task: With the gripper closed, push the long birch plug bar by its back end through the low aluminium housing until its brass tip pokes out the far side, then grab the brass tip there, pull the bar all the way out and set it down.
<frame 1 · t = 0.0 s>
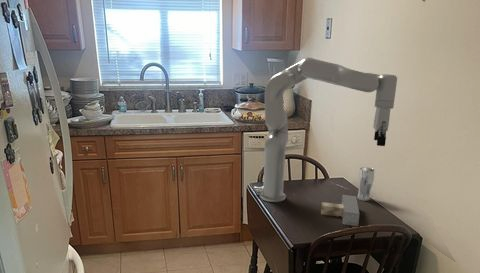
hand: (379, 142, 162), 31 cm above the table, tool pointing down, fingers open, 9 cm apart
plug bar: (336, 214, 163), on the table
beer glass: (363, 199, 181), on the table
housing: (349, 215, 162), on the table
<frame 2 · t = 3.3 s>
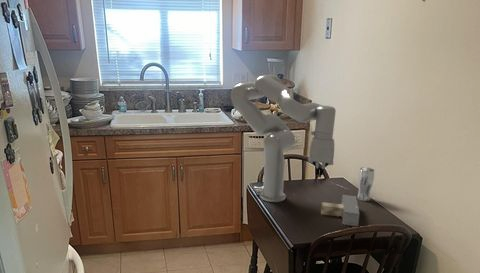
hand: (319, 176, 161), 16 cm above the table, tool pointing down, fingers closed
nothing on the table moved.
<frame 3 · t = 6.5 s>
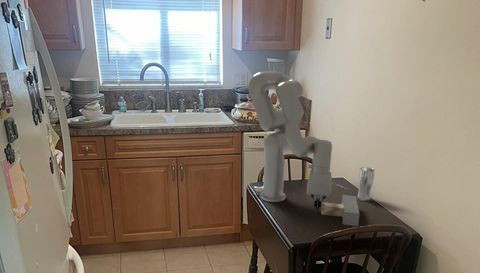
hand: (317, 208, 164), 2 cm above the table, tool pointing down, fingers closed
plug bar: (336, 214, 163), on the table, touching gripper
everything else where it was.
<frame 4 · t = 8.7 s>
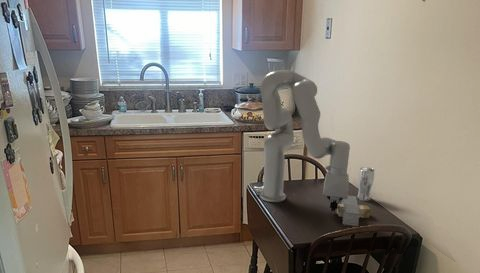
hand: (333, 209, 163), 2 cm above the table, tool pointing down, fingers closed
plug bar: (352, 215, 163), on the table
everything else where it was.
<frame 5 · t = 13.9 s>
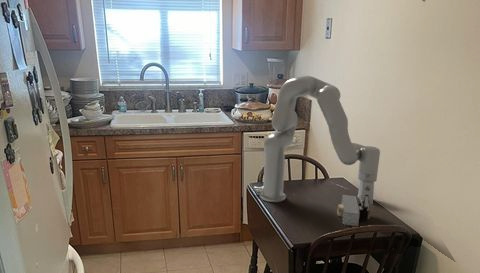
hand: (362, 215, 160), 1 cm above the table, tool pointing down, fingers open, 5 cm apart
plug bar: (352, 215, 162), on the table, touching gripper
everything else where it was.
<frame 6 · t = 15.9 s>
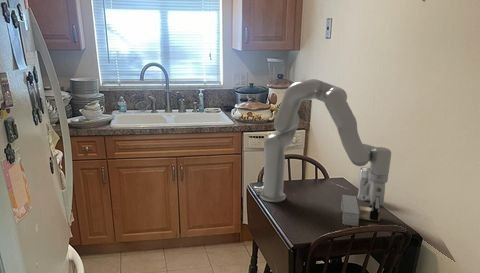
hand: (373, 216, 160), 1 cm above the table, tool pointing down, fingers closed on plug bar, 4 cm apart
plug bar: (362, 217, 161), on the table, touching gripper
everything else where it was.
when the fingers open (1 cm above the table, at t = 17.4 s): plug bar stays where it is, on the table.
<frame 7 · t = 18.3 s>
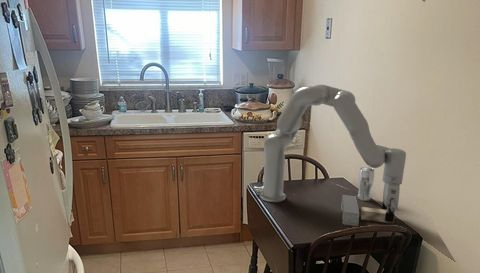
hand: (387, 216, 158), 2 cm above the table, tool pointing down, fingers open, 9 cm apart
plug bar: (376, 219, 159), on the table
everything else where it was.
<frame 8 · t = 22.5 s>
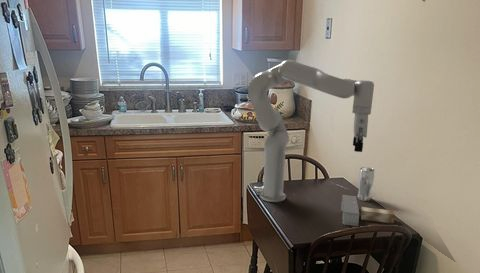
hand: (357, 148, 163), 28 cm above the table, tool pointing down, fingers open, 9 cm apart
nothing on the table moved.
at the end: plug bar 1.4 cm from the target spot, on the table; the gripper is holding nothing; plug bar tilted 0° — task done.
